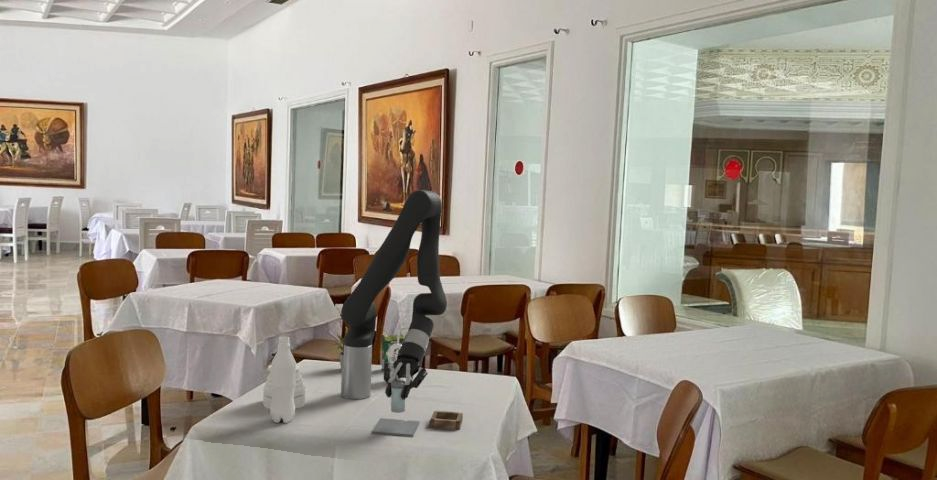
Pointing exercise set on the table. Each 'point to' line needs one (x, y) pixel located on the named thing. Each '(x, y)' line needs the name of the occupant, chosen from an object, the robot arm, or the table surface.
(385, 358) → the coffee box
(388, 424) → the slate pad
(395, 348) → the cup with straw
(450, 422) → the walnut collar
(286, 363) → the water bottle
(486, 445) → the table surface
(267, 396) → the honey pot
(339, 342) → the house plant
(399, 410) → the grey-capped cylinder canister
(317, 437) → the table surface
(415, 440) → the table surface
